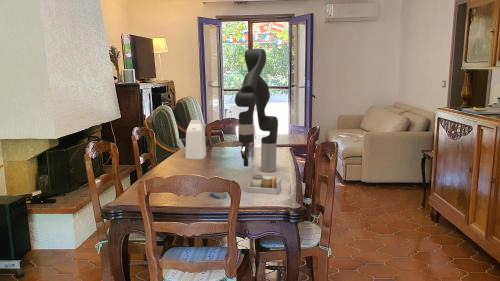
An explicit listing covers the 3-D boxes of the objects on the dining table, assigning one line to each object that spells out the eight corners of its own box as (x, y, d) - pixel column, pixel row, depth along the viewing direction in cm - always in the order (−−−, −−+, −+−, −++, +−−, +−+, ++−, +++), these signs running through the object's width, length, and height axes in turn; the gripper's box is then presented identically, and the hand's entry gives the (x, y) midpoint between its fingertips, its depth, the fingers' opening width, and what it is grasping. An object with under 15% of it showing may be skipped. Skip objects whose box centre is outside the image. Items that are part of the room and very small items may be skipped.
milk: (206, 155, 283) (205, 119, 278) (202, 159, 272) (202, 121, 267) (189, 155, 284) (188, 118, 280) (185, 158, 273) (184, 120, 268)
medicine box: (209, 195, 193) (209, 178, 192) (216, 193, 196) (216, 176, 195) (219, 198, 188) (219, 181, 186) (226, 196, 191) (226, 179, 189)
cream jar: (253, 187, 206) (253, 174, 205) (263, 188, 205) (263, 174, 204) (251, 190, 201) (251, 177, 200) (261, 191, 200) (261, 177, 199)
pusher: (274, 187, 205) (274, 176, 204) (276, 187, 205) (276, 176, 204) (271, 192, 197) (272, 180, 196) (273, 192, 197) (274, 180, 196)
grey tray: (251, 185, 209) (251, 174, 208) (281, 188, 206) (281, 176, 205) (246, 192, 199) (246, 180, 198) (277, 194, 195) (278, 182, 194)
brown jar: (262, 188, 205) (262, 175, 203) (272, 188, 204) (272, 175, 203) (261, 191, 200) (262, 178, 198) (272, 191, 199) (272, 178, 198)
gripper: (241, 130, 206) (241, 162, 210) (235, 134, 194) (235, 169, 197) (255, 130, 205) (255, 163, 208) (250, 135, 192) (250, 169, 195)
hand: (246, 166), depth 202 cm, fingers closed
